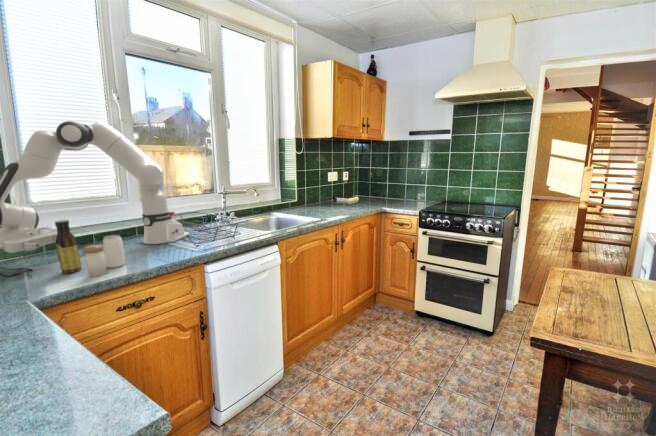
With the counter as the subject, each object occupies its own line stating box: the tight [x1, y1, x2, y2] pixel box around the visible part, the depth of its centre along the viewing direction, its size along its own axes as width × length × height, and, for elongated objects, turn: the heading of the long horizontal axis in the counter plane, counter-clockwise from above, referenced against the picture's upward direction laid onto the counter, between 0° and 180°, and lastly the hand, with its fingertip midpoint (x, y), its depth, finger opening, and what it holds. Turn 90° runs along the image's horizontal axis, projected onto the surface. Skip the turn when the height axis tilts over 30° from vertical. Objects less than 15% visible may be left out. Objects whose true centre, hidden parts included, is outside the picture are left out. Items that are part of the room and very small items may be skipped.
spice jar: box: [83, 243, 108, 277], centre depth 126 cm, size 6×6×11 cm
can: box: [102, 234, 126, 269], centre depth 135 cm, size 6×6×12 cm
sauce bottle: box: [54, 219, 82, 274], centre depth 128 cm, size 7×6×20 cm
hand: (50, 242), depth 131 cm, fingers open, 8 cm apart
